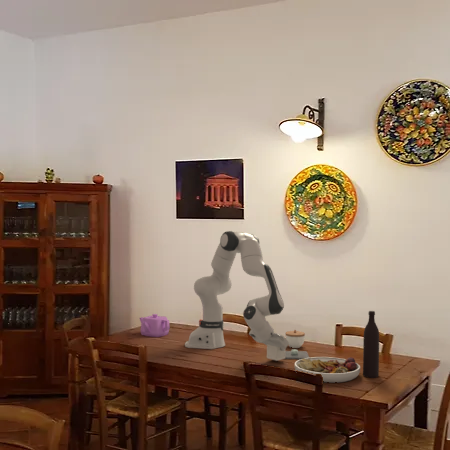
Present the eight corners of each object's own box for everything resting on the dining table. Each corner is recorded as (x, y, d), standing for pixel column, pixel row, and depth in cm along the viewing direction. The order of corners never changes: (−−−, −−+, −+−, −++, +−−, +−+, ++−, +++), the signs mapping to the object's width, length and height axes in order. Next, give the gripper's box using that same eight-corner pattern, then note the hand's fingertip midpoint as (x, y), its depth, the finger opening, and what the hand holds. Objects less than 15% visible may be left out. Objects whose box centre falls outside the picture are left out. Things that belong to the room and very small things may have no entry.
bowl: (310, 387, 263) (310, 369, 262) (284, 369, 292) (285, 352, 291) (372, 382, 271) (372, 364, 270) (341, 365, 300) (342, 349, 299)
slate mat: (282, 358, 310) (282, 353, 310) (280, 352, 324) (280, 346, 324) (309, 359, 309) (309, 353, 309) (306, 352, 323) (306, 347, 323)
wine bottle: (376, 373, 283) (377, 310, 282) (380, 378, 276) (381, 312, 275) (361, 373, 283) (362, 310, 282) (365, 378, 276) (366, 312, 275)
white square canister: (276, 360, 300) (277, 339, 300) (266, 358, 305) (267, 337, 305) (285, 358, 305) (285, 337, 304) (275, 355, 310) (275, 335, 309)
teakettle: (170, 336, 361) (170, 316, 360) (142, 338, 357) (142, 317, 356) (166, 331, 377) (166, 311, 377) (139, 332, 373) (139, 312, 373)
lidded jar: (298, 349, 330) (298, 332, 330) (281, 347, 336) (281, 330, 336) (308, 346, 338) (308, 329, 338) (291, 343, 345) (291, 327, 345)
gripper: (283, 330, 292) (296, 347, 299) (252, 323, 307) (265, 339, 314) (277, 340, 289) (290, 357, 296) (246, 333, 304) (259, 349, 311)
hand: (277, 348), depth 305 cm, fingers closed on white square canister, 7 cm apart
